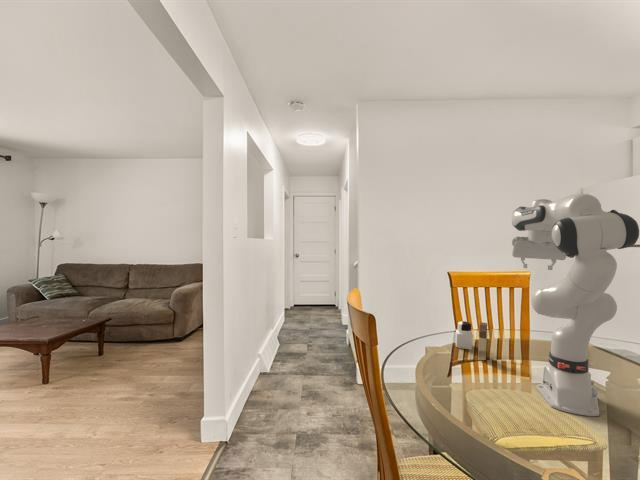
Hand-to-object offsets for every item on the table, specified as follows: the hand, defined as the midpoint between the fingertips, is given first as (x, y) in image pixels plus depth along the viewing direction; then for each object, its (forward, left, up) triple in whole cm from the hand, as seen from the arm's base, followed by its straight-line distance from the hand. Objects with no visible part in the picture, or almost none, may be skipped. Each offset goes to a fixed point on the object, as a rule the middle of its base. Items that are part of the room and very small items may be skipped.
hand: (537, 268), depth 161 cm
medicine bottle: (+6, +28, -42) cm, 51 cm away
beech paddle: (-6, +20, -41) cm, 47 cm away
